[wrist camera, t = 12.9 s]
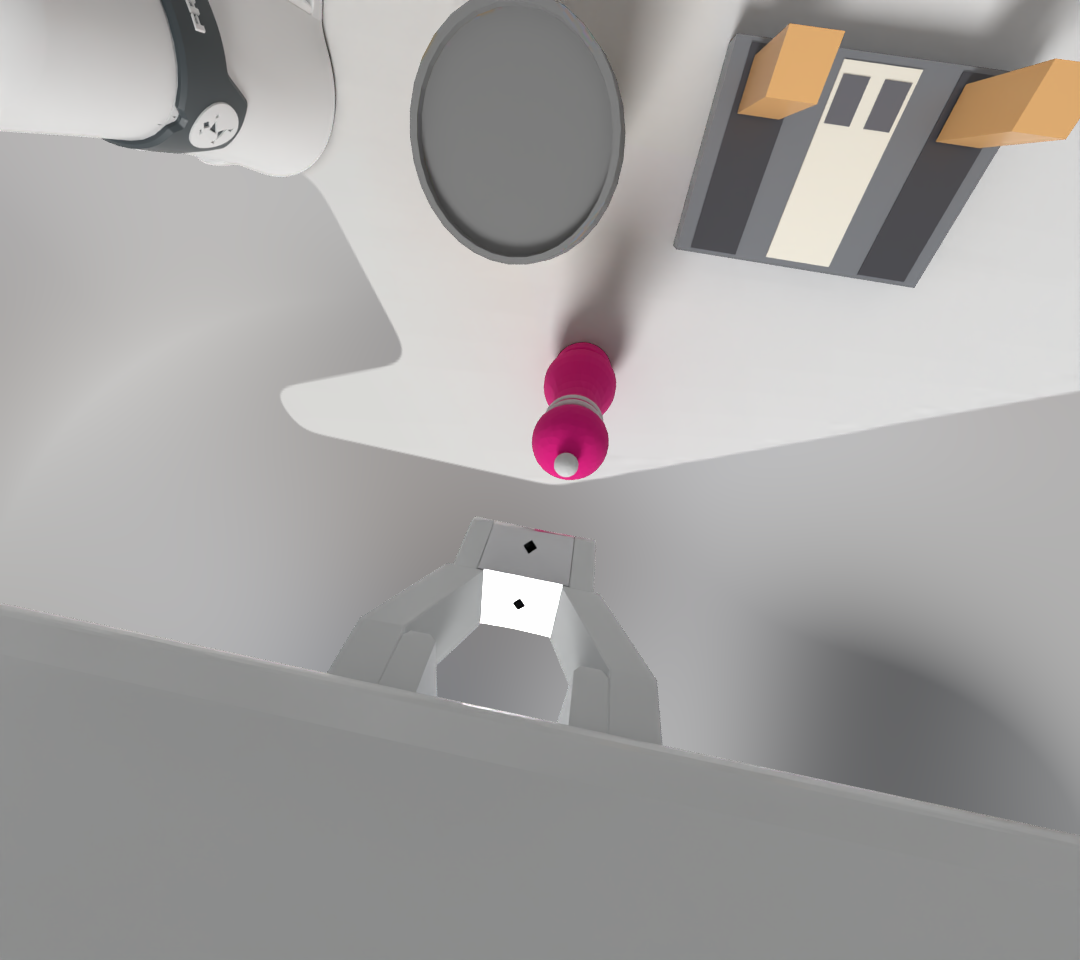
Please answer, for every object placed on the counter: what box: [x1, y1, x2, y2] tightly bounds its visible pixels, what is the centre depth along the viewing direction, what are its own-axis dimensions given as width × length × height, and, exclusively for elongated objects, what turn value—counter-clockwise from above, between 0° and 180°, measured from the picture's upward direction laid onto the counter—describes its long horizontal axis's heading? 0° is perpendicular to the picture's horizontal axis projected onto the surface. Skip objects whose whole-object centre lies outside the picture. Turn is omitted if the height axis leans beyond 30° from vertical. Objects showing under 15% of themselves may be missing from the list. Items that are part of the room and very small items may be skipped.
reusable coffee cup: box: [410, 0, 625, 264], centre depth 30 cm, size 13×13×15 cm
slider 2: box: [936, 59, 1080, 148], centre depth 26 cm, size 3×3×7 cm
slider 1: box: [737, 23, 845, 120], centre depth 27 cm, size 3×3×7 cm
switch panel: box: [673, 33, 1010, 288], centre depth 33 cm, size 13×20×3 cm, turn 83°
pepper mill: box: [532, 342, 616, 480], centre depth 38 cm, size 7×7×20 cm
